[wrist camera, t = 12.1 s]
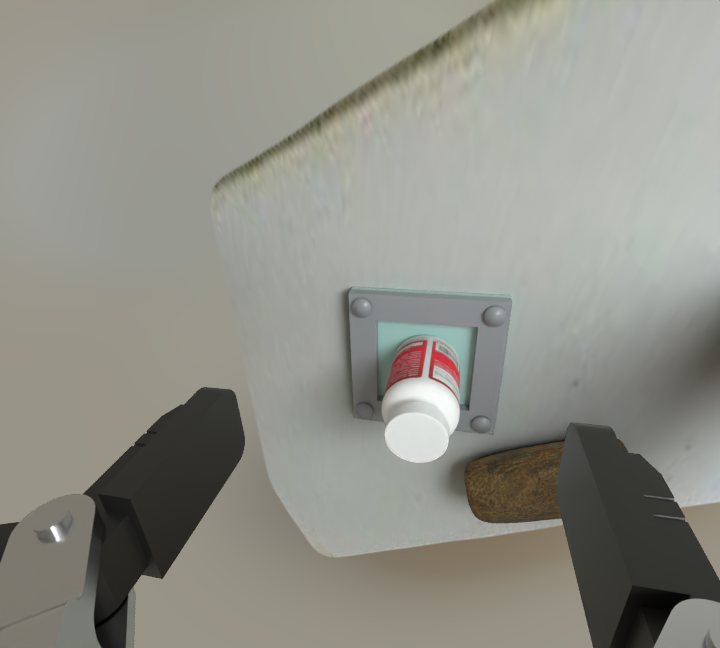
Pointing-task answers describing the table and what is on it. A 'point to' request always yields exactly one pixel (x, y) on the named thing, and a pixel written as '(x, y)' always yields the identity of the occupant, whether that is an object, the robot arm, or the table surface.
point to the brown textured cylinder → (516, 484)
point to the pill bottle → (422, 399)
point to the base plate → (436, 318)
